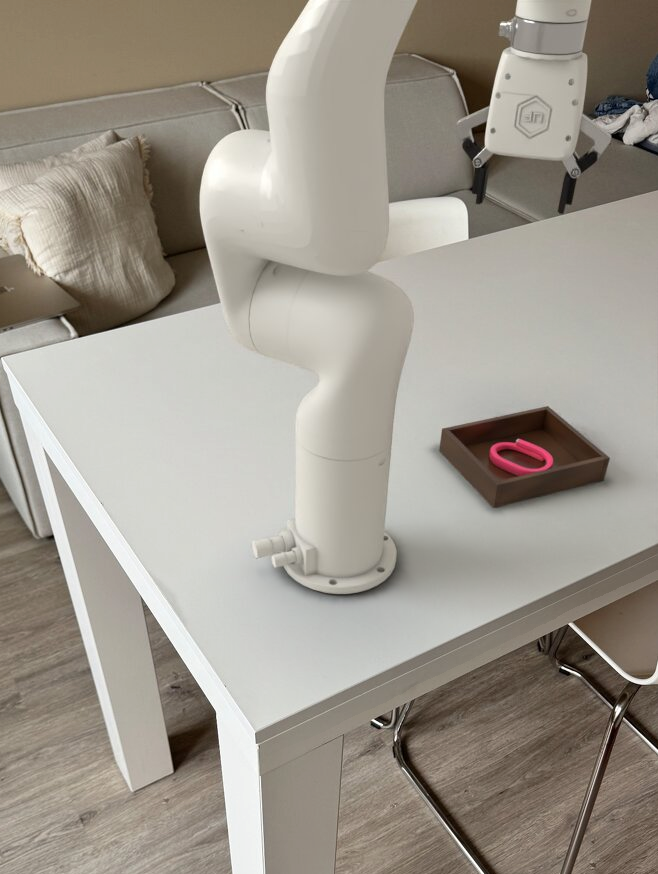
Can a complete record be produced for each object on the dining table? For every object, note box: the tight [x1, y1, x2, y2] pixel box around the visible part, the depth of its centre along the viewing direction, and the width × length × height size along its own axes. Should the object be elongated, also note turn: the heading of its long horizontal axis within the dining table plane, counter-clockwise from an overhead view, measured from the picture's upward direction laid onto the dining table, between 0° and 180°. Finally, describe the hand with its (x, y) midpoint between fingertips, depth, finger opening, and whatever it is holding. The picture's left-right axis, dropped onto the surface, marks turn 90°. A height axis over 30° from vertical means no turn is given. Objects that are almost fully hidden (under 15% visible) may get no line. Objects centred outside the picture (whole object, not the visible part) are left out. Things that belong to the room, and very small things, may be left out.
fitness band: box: [490, 439, 553, 476], centre depth 111 cm, size 8×6×2 cm
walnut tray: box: [438, 405, 611, 509], centre depth 111 cm, size 16×13×3 cm
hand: (520, 205), depth 106 cm, fingers open, 9 cm apart
